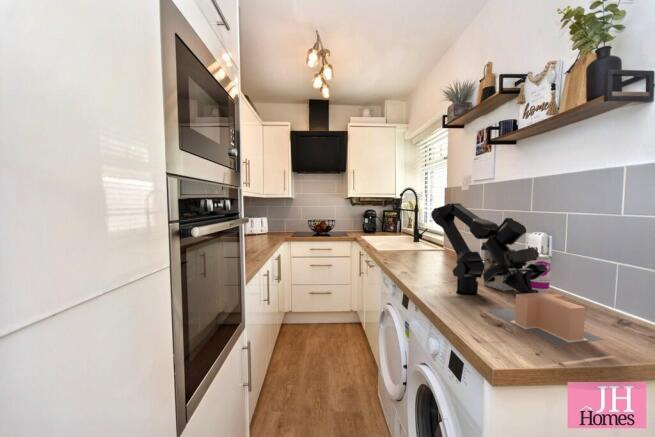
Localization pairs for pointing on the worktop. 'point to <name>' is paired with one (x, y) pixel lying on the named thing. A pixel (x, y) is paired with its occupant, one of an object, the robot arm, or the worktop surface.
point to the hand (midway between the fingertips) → (532, 298)
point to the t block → (550, 314)
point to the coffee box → (498, 279)
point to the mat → (540, 329)
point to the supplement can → (542, 281)
